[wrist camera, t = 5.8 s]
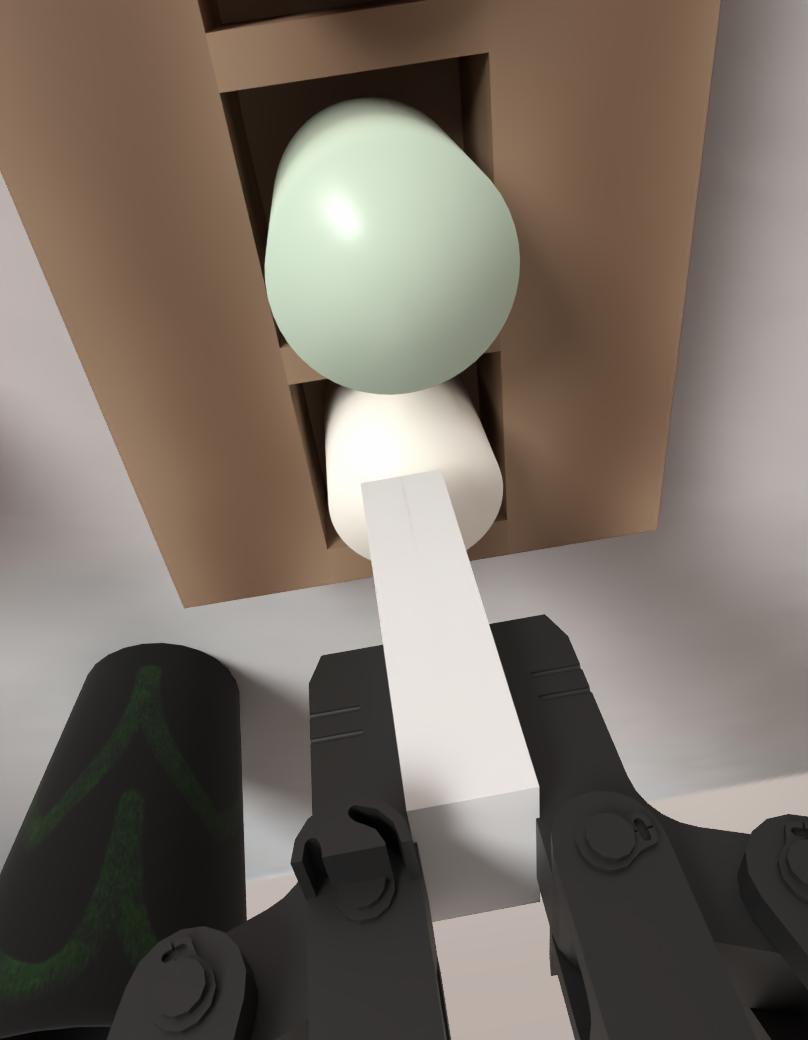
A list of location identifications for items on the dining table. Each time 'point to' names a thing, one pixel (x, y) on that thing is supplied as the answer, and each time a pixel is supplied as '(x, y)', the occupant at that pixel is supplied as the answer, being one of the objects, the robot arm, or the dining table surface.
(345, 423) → the white egg
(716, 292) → the dining table surface
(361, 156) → the pale green rounded piece
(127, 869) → the cup
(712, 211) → the dining table surface
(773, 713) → the dining table surface
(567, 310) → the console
